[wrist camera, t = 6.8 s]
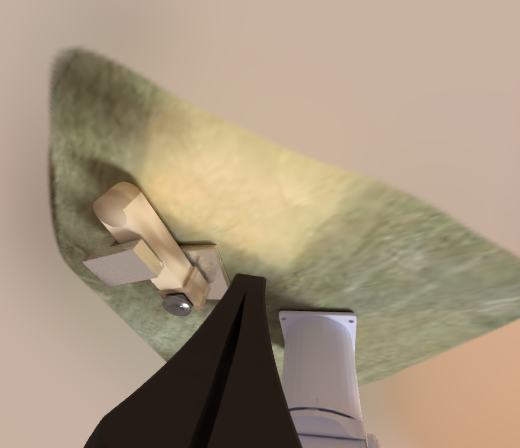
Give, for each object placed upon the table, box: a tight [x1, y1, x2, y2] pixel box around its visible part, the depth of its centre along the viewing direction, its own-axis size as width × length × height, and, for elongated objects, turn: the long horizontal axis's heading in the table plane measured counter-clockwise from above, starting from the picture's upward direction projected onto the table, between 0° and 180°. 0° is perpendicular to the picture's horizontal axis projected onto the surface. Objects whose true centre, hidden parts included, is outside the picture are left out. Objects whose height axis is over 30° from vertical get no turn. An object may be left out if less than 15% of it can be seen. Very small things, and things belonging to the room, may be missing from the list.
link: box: [93, 182, 211, 310], centre depth 22 cm, size 13×3×2 cm, turn 20°
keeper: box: [82, 233, 164, 287], centre depth 22 cm, size 3×5×5 cm, turn 112°
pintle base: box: [162, 245, 230, 316], centre depth 25 cm, size 7×7×4 cm
